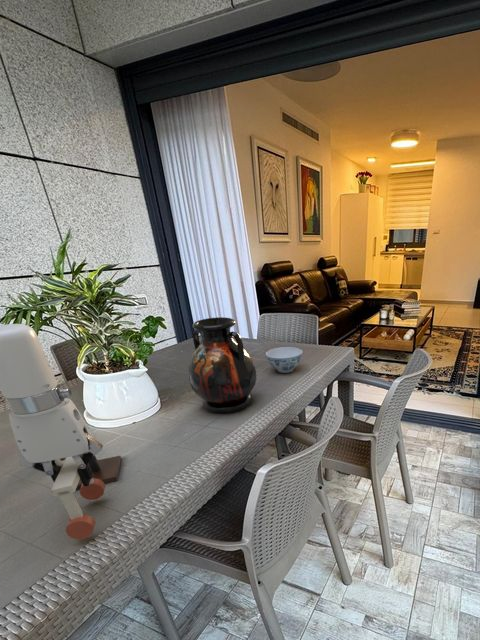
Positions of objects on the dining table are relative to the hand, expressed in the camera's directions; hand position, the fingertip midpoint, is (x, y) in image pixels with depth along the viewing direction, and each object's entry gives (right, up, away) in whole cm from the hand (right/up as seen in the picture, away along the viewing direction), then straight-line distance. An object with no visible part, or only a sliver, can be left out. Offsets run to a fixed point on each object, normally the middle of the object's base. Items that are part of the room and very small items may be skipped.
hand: (76, 484), depth 69 cm
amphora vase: (+16, +19, +52) cm, 58 cm away
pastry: (-23, +2, +25) cm, 34 cm away
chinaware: (+33, +35, +80) cm, 93 cm away
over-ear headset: (0, -7, +4) cm, 8 cm away
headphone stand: (-8, -1, +19) cm, 20 cm away
